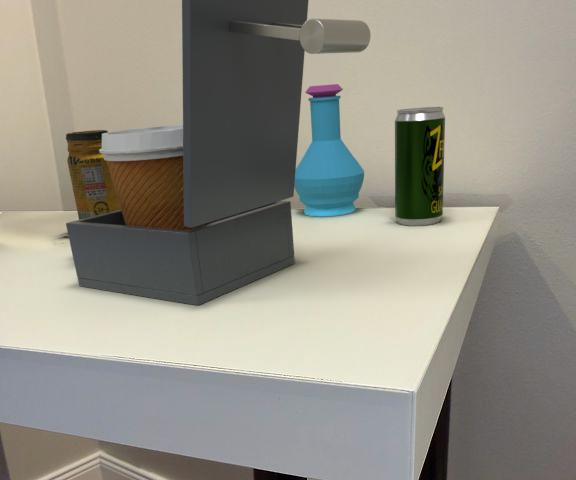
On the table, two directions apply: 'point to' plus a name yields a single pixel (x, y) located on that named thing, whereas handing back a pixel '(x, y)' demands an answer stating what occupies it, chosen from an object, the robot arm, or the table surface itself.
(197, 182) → the lid
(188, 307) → the table surface
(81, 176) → the condiment
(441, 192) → the beer can
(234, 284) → the gray storage case
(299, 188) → the perfume bottle
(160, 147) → the disposable coffee cup
